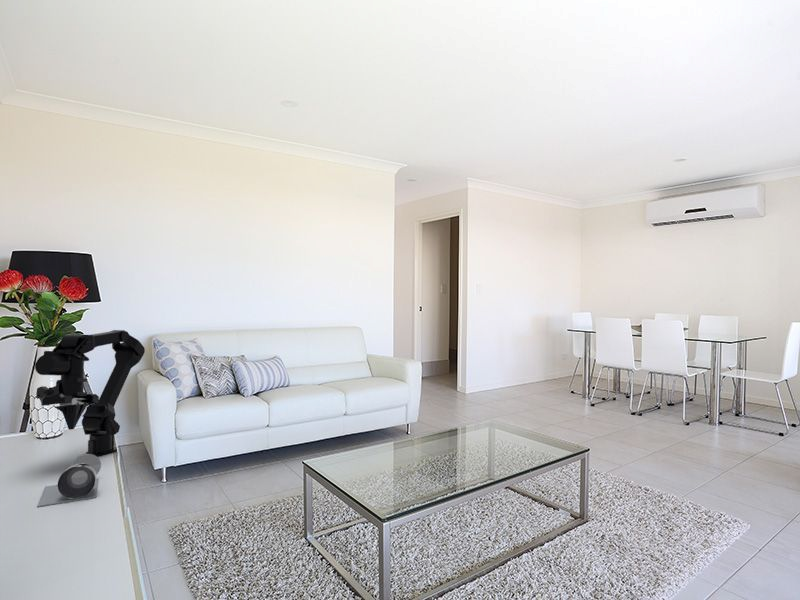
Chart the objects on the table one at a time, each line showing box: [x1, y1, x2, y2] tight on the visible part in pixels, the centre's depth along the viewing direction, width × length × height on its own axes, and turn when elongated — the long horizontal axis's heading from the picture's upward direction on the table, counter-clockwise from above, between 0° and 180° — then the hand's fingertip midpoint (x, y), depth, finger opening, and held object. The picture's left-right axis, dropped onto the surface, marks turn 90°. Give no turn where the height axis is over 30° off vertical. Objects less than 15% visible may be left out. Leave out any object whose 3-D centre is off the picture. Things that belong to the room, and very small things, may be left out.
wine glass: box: [57, 453, 102, 499], centre depth 126 cm, size 8×8×15 cm
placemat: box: [36, 478, 99, 508], centre depth 124 cm, size 14×12×1 cm
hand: (71, 429), depth 140 cm, fingers closed
